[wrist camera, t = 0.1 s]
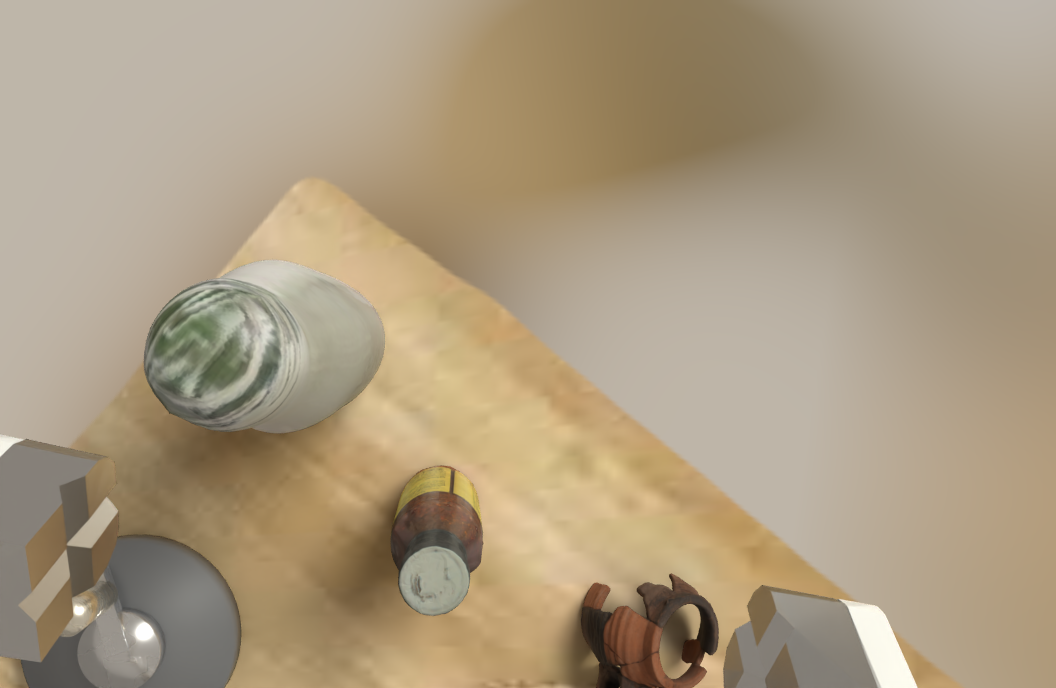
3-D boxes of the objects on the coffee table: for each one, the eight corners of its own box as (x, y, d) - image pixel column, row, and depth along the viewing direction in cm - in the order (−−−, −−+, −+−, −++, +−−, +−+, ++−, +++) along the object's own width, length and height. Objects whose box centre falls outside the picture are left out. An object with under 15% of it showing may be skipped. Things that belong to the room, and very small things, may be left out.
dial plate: (266, 698, 64) (258, 712, 62) (70, 760, 63) (54, 776, 61) (206, 509, 63) (196, 515, 61) (7, 569, 62) (-11, 578, 60)
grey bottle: (304, 255, 63) (163, 200, 35) (415, 321, 64) (363, 319, 36) (239, 361, 63) (47, 390, 35) (351, 427, 64) (249, 506, 36)
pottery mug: (597, 543, 66) (667, 567, 59) (671, 580, 70) (744, 606, 64) (541, 688, 63) (608, 731, 56) (622, 716, 67) (693, 759, 60)
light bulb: (175, 671, 61) (142, 708, 55) (99, 695, 61) (57, 735, 55) (138, 554, 61) (100, 579, 55) (60, 577, 60) (14, 605, 55)
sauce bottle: (390, 523, 64) (349, 611, 44) (419, 451, 64) (390, 507, 44) (466, 551, 65) (458, 652, 45) (494, 480, 65) (500, 548, 45)
